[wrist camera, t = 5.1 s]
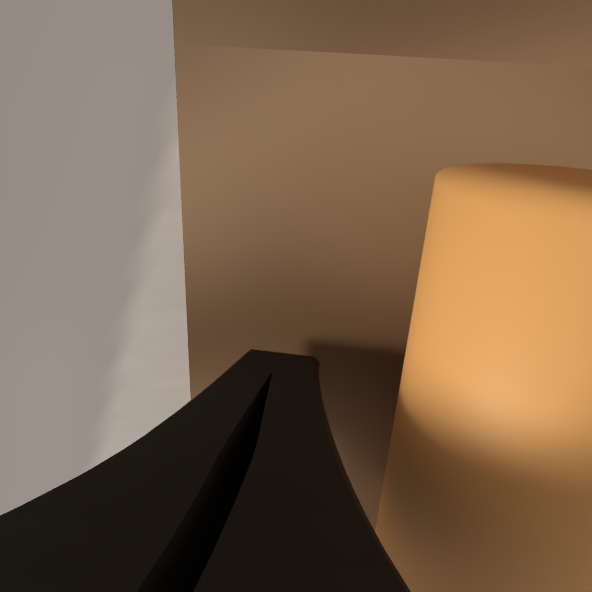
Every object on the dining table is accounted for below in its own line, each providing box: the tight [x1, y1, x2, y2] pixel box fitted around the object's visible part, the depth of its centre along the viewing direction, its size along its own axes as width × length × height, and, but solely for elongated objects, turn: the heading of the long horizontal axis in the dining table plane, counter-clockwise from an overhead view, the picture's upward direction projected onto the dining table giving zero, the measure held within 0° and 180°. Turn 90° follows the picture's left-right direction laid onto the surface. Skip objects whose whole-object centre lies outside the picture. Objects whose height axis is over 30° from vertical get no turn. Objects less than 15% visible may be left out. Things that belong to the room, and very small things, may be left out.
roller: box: [375, 163, 592, 592], centre depth 8 cm, size 9×4×4 cm, turn 177°
